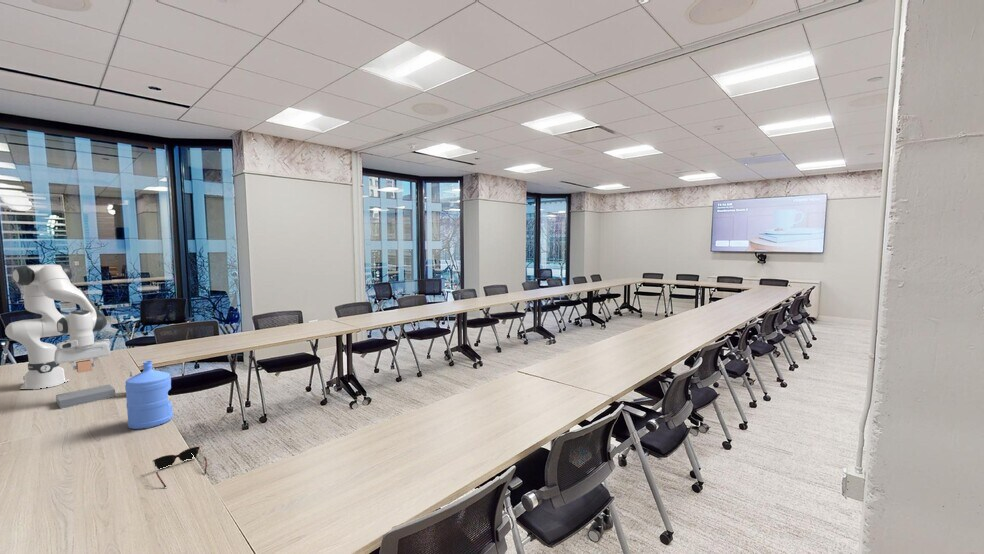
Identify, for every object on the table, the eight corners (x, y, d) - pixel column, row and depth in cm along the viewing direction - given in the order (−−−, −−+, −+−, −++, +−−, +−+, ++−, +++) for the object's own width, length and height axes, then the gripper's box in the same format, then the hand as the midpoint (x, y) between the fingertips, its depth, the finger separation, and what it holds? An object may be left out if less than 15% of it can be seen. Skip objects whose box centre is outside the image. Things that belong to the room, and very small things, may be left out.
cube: (76, 371, 205) (75, 361, 205) (90, 368, 209) (89, 359, 209) (78, 373, 202) (77, 363, 202) (92, 370, 206) (91, 361, 206)
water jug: (147, 431, 171) (143, 368, 169) (118, 428, 174) (114, 365, 172) (181, 416, 186) (178, 358, 184) (154, 413, 190) (151, 356, 188)
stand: (56, 402, 203) (55, 395, 202) (109, 391, 219) (109, 384, 218) (60, 408, 195) (59, 400, 195) (115, 396, 211) (114, 389, 211)
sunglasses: (200, 457, 151) (199, 445, 150) (210, 476, 140) (210, 463, 139) (152, 472, 141) (152, 459, 140) (160, 494, 130) (159, 480, 129)
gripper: (108, 337, 215) (110, 362, 216) (52, 344, 199) (54, 371, 200) (111, 338, 211) (112, 364, 212) (54, 346, 195) (56, 373, 196)
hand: (84, 367), depth 206 cm, fingers closed on cube, 5 cm apart
